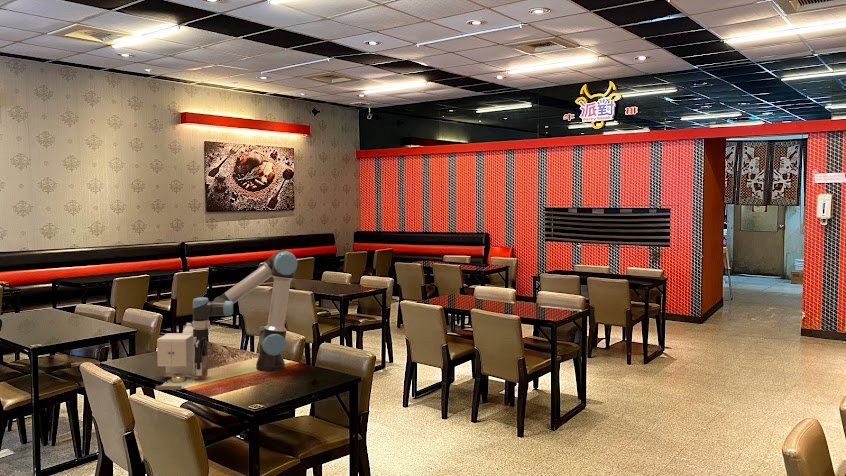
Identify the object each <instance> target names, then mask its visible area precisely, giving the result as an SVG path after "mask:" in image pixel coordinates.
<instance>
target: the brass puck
mask: <svg viewBox="0 0 846 476" xmlns="http://www.w3.org/2000/svg"><path fill="white" fill-rule="evenodd" d="M171 378H172V382H173V383H181V382H184V381H185V378H186V377H185V376H184V375H175V376H172V377H171Z"/></svg>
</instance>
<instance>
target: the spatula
mask: <svg viewBox="0 0 846 476" xmlns="http://www.w3.org/2000/svg"><path fill="white" fill-rule="evenodd" d="M207 358H208V355H207V356H202V360H201V362H202V376H196V363H194V373H166V372H165V373H163V378H172V376H175V375H184V376H185V378H194V379H196V378H202V379H205V378H206V377H207V376H208V365H209V364H208V359H207ZM194 362H195V358H194Z"/></svg>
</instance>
